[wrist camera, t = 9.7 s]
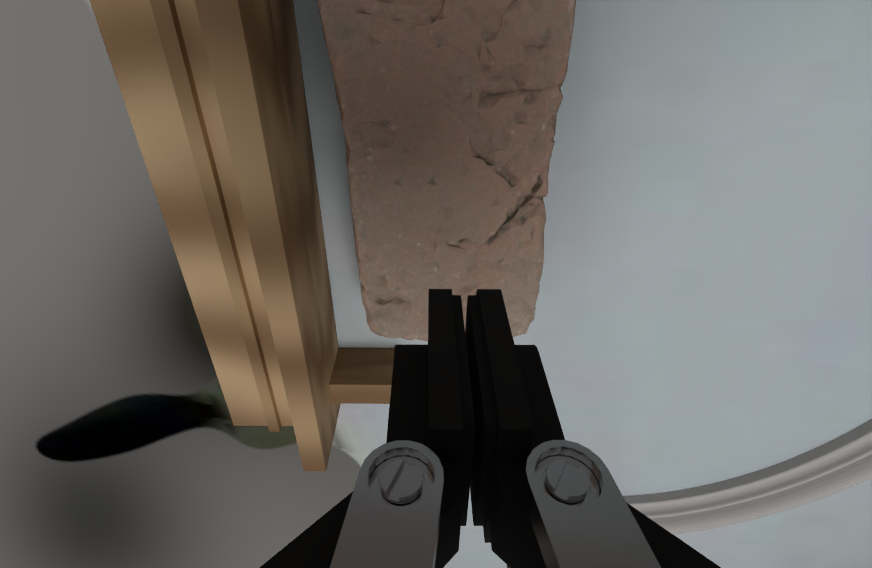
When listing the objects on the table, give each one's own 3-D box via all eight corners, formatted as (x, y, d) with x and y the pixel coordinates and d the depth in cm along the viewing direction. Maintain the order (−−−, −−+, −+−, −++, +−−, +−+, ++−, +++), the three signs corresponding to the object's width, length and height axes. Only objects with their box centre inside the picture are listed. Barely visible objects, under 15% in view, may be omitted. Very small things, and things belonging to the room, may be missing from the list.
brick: (522, 294, 26) (537, 349, 23) (374, 297, 26) (365, 353, 23) (555, -72, 17) (591, -86, 13) (330, -65, 17) (301, -76, 13)
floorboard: (65, -249, 14) (-128, -366, 9) (389, -240, 15) (366, -350, 10) (250, 388, 30) (214, 470, 25) (405, 389, 30) (400, 471, 25)
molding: (531, 572, 46) (537, 606, 43) (472, 517, 40) (474, 552, 37) (1068, 423, 34) (1117, 458, 31) (1098, 310, 28) (1162, 343, 25)
